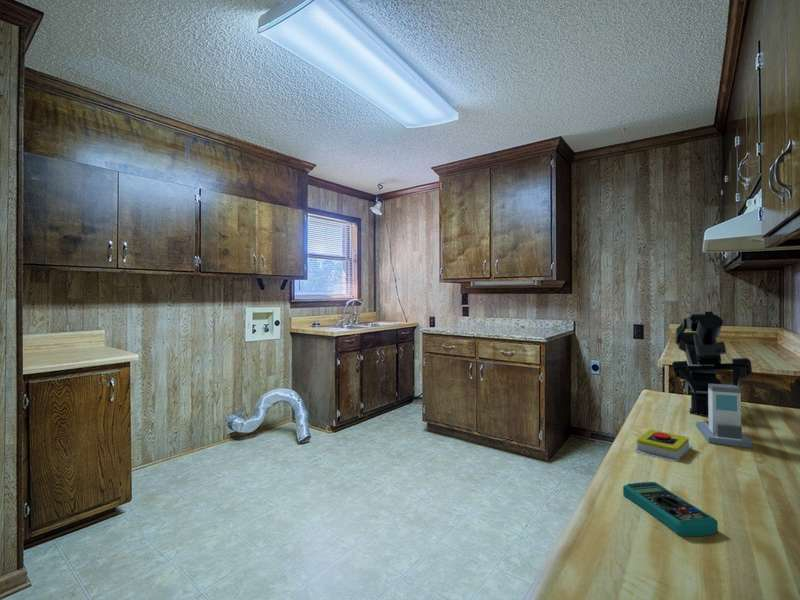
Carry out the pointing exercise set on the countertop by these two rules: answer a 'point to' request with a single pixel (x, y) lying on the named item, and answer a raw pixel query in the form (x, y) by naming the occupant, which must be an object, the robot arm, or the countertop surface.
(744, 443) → the rail board
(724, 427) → the end clamps
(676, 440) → the emergency button
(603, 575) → the countertop surface
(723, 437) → the steel rail
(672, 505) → the digital multimeter
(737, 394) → the block
